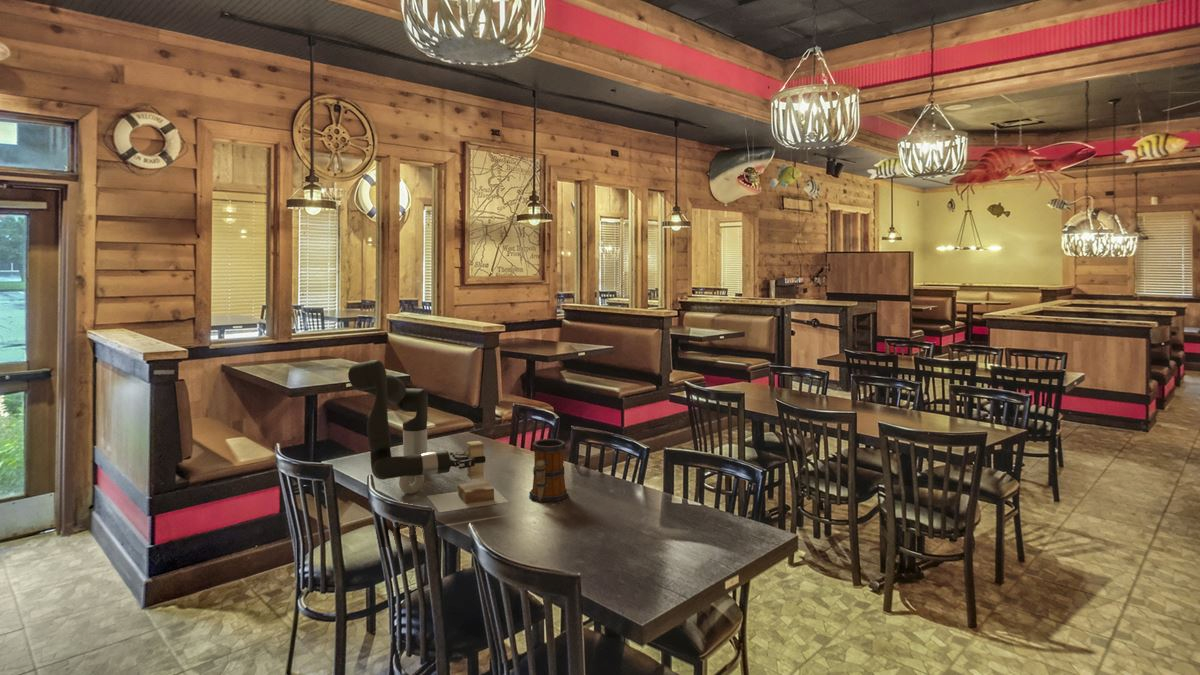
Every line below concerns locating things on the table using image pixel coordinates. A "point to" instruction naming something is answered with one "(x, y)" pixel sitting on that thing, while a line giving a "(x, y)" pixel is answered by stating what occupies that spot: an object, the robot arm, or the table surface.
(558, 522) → the table surface
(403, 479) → the donut
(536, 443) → the mug
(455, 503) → the build mat
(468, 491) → the walnut base
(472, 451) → the maple pillar
